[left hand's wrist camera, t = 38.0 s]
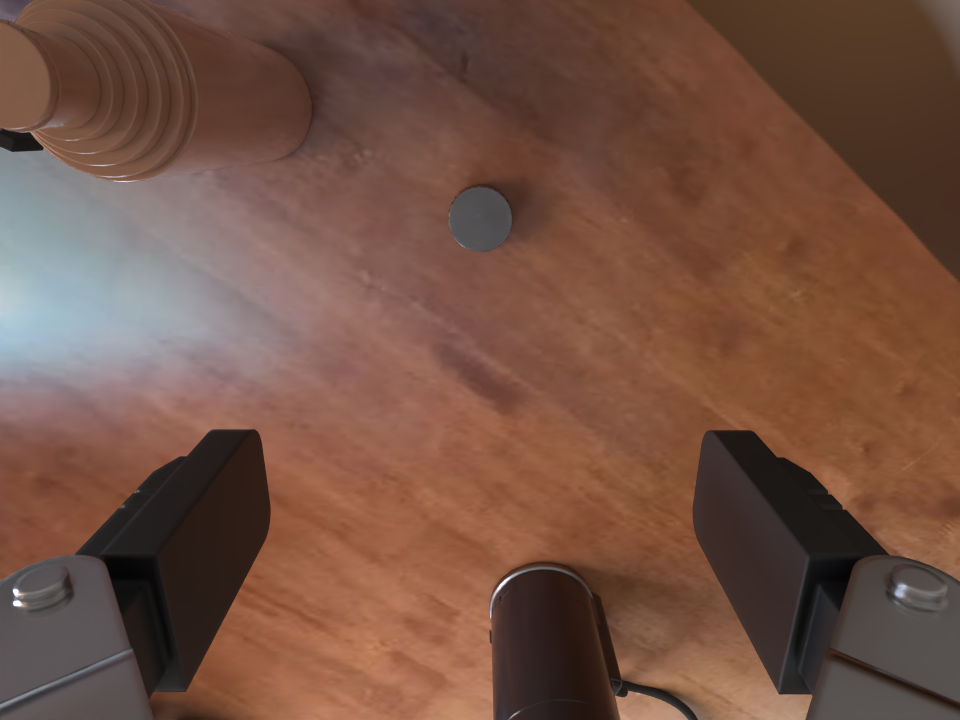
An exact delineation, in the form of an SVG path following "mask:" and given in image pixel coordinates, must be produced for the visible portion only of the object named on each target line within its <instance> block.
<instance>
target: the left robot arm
mask: <svg viewBox="0 0 960 720" xmlns="http://www.w3.org/2000/svg"><path fill="white" fill-rule="evenodd" d="M269 524H270V499H269V492H268V485H267V477H266V470H265V463H264V456H263V448H262V442H261V438H260V435H259V433H258V432H257V431H256V430H254V429H214V430H211V431H210V432H208V433H207V435H206V436H205V437H204V438H203V439H202V440H201V441H200V442H199V444H198V445H197V446H196V447H195V448H194V449H193V450H192V451H191V452H190V454H189V455H188V456H180V457H178V458H176V459H175V460H173V461H171V462H170V463H168V464H166V465H164V466H163V467H161V468H159V469H157V470H156V471H154V472H153V473H152V474H151V475H150V476H149V477H148V478H147V479H146V480H145V481H144V482H143V483H142V484H141V485H140V486H139V488H138V489H137V492H136V493H133V494H132V495H131V496H130V497H129V498H128V499H127V500H126V501H125V502H124V503H123V504H122V509H118V510H117V511H116V512H115V513H114V514H113V515H112V516H111V517H110V518H109V519H108V520H107V521H106V522H105V523H104V524H103V525H102V526H101V527H100V528H99V529H98V531H97V532H96V533H95V534H94V535H93V536H92V537H91V538H90V539H89V540H88V541H87V542H86V543H85V544H84V545H83V546H82V547H81V548H80V549H79V550H78V551H77V553H76V554H75V555H69V556H61V557H56V558H51V559H48V560H44V561H41V562H38V563H35V564H33V565H30V566H28V567H25V568H23V569H21V570H19V571H17V572H15V573H13V574H11V575H10V576H8V577H6V578H5V579H3V580H2V581H0V720H154V717H153V713H152V710H151V707H150V703H149V699H150V697H151V695H152V694H153V692H186V691H187V689H188V687H189V685H190V683H191V681H192V679H193V677H194V675H195V673H196V671H197V670H198V668H199V666H200V664H201V662H202V660H203V658H204V656H205V654H206V652H207V650H208V649H209V647H210V645H211V643H212V641H213V639H214V637H215V635H216V633H217V631H218V629H219V627H220V626H221V624H222V622H223V620H224V618H225V616H226V614H227V612H228V610H229V608H230V606H231V605H232V603H233V601H234V599H235V597H236V595H237V593H238V591H239V589H240V587H241V585H242V584H243V582H244V580H245V578H246V576H247V574H248V572H249V570H250V568H251V566H252V564H253V562H254V561H255V559H256V557H257V555H258V553H259V551H260V549H261V547H262V545H263V543H264V541H265V539H266V537H267V534H268V530H269ZM693 524H694V530H695V534H696V537H697V540H698V542H699V544H700V546H701V548H702V550H703V552H704V553H705V555H706V557H707V559H708V561H709V563H710V565H711V567H712V569H713V570H714V572H715V574H716V576H717V578H718V580H719V582H720V584H721V586H722V587H723V589H724V591H725V593H726V595H727V597H728V599H729V601H730V603H731V604H732V606H733V608H734V610H735V612H736V614H737V616H738V618H739V620H740V621H741V623H742V625H743V627H744V629H745V631H746V633H747V635H748V637H749V638H750V640H751V642H752V644H753V646H754V648H755V650H756V652H757V654H758V655H759V657H760V659H761V661H762V663H763V665H764V667H765V669H766V671H767V672H768V674H769V676H770V678H771V680H772V682H773V684H774V686H775V688H776V689H777V691H778V693H779V694H812V696H813V697H812V700H811V703H810V707H809V710H808V713H807V717H806V720H960V581H958V580H957V579H955V578H954V577H952V576H950V575H949V574H947V573H945V572H943V571H941V570H939V569H937V568H935V567H932V566H930V565H927V564H925V563H922V562H919V561H916V560H912V559H909V558H904V557H899V556H891V555H889V554H888V553H887V552H886V551H885V550H884V549H883V548H882V547H881V546H880V545H879V544H878V543H877V541H876V540H875V539H874V538H873V537H872V536H871V535H870V534H869V533H868V532H867V531H866V530H865V529H864V528H863V527H862V526H861V525H860V524H859V523H858V522H857V521H856V520H855V519H854V518H853V517H852V515H851V514H850V513H849V512H848V511H847V510H843V509H842V505H841V504H840V503H839V502H838V501H837V500H836V499H835V498H834V497H833V496H832V495H828V491H827V490H826V488H825V487H824V486H823V485H822V484H821V483H820V482H819V481H818V480H817V479H816V478H815V477H814V476H813V475H812V474H811V473H810V472H808V471H806V470H805V469H803V468H801V467H799V466H798V465H796V464H794V463H792V462H791V461H789V460H787V459H786V458H777V457H776V456H775V455H774V454H773V452H772V451H771V450H770V449H769V448H768V447H767V446H766V445H765V444H764V442H763V441H762V440H761V439H760V438H759V437H758V436H757V435H756V434H755V433H754V432H753V431H750V430H709V431H707V432H706V433H705V435H704V437H703V440H702V445H701V452H700V459H699V466H698V473H697V480H696V488H695V495H694V502H693ZM490 617H491V626H492V632H491V630H490V643H491V644H492V674H493V717H494V720H620V716H619V711H618V707H617V703H616V699H615V695H616V696H619V697H625V696H627V694H628V691H633V692H637V693H642V694H645V695H649V696H652V697H655V698H658V699H660V700H663V701H665V702H667V703H669V704H671V705H672V706H674V707H676V708H677V709H678V710H680V711H681V712H682V713H683V714H684V715H685V716H686V717H687V719H688V720H698V719H697V717H696V716H695V714H694V713H693V712H692V710H691V709H690V708H689V707H688V706H687V705H686V704H684V703H683V702H682V701H680V700H679V699H677V698H676V697H674V696H672V695H670V694H668V693H665V692H663V691H661V690H658V689H655V688H652V687H646V686H641V685H637V684H633V683H630V682H626V681H622V679H621V675H620V671H619V667H618V664H617V660H616V656H615V652H614V648H613V644H612V640H611V636H610V632H609V629H608V625H607V621H606V617H605V613H604V609H603V605H602V601H601V598H600V597H599V596H597V595H594V594H593V593H591V590H590V588H589V586H588V584H587V583H586V581H585V580H584V579H583V578H582V577H581V576H580V575H579V574H578V573H576V572H575V571H573V570H571V569H569V568H567V567H565V566H562V565H558V564H554V563H533V564H528V565H524V566H521V567H519V568H516V569H514V570H513V571H511V572H509V573H508V574H507V575H505V576H504V577H503V578H502V579H501V580H500V581H499V582H498V584H497V585H496V586H495V588H494V590H493V592H492V595H491V599H490Z"/></svg>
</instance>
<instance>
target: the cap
mask: <svg viewBox="0 0 960 720" xmlns="http://www.w3.org/2000/svg"><path fill="white" fill-rule="evenodd" d="M508 203H509V202H508V200H506V199H505V197H504V194H503V195H502V194H501V193H500V192H499V190H496V189H495V188H493V187H490V186H487V185H486V184H485V185H480V184H478V185H474V186H473V185H472V186H471V187H468V188H465V189H464V190H463V191H462V192H461V191H460V193H459V194H458V195H457V197H455V199H454V201H453V202H452V204H451V209H450V210H449V217H448V220H449V227H450V230H451V233H452V235H453V237H454V238H455V240H456V241H457V242H458V243H459V244H460V245H462V246H463V247H465V248H466V249H469V250H472V251H476V252H484V251H489V250H492V249H494V248H496V247H498V246H499V245H500V244H502V243H503V242H504V240H505V239H506V238H507V237H508V234H509V232H510V231H511V225H512V217H513V216H512V213H511V207H510V206H509V204H508Z"/></svg>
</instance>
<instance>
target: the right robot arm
mask: <svg viewBox="0 0 960 720" xmlns="http://www.w3.org/2000/svg"><path fill="white" fill-rule="evenodd" d="M0 147H2V148H5V149H7V150H9V151H12V152H18V151H39V150H43V146H42V145H41V144H40V143H39V142H38V141H37V140H36V139H35V138H34V136H33V135H32V134H31V133H30V132H22V133H20V132H15V131H9V130H6V129H4V128H2V130H0Z"/></svg>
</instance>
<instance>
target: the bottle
mask: <svg viewBox="0 0 960 720" xmlns="http://www.w3.org/2000/svg"><path fill="white" fill-rule="evenodd" d="M311 117H312V103H311V97H310V93H309V90H308V87H307V84H306V82H305V80H304V78H303V76H302V75H301V73H300V72H299V70H298V69H297V68H296V67H295V65H294V64H293V63H292V62H291V61H290V60H289V59H287V58H286V57H285V56H284V55H282V54H281V53H279V52H277V51H275V50H273V49H271V48H268V47H266V46H263V45H261V44H258V43H256V42H253V41H250V40H248V39H245V38H243V37H240V36H237V35H235V34H232V33H230V32H227V31H225V30H222V29H219V28H217V27H214V26H212V25H209V24H207V23H204V22H201V21H199V20H196V19H194V18H191V17H188V16H186V15H183V14H181V13H178V12H176V11H173V10H170V9H168V8H165V7H163V6H160V5H157V4H155V3H152V2H150V1H147V0H33V1H32V2H31V3H30V4H29V5H27V6H26V7H25V9H24V10H23V11H22V12H21V13H20V14H19V16H18V18H17V19H16V21H15V22H14V23H13V22H11V21H8V20H2V19H0V130H2V128H4V129H6V130H9V131H15V132H20V133H22V132H30V133H31V134H32V135H33V136H34V138H35V139H36V140H37V141H38V142H39V143H40V144H41V145H42V146H43V147H44V148H45V149H46V150H47V151H48V152H50V153H51V154H52V155H53V156H55V157H56V158H57V159H59V160H61V161H62V162H64V163H65V164H67V165H69V166H71V167H73V168H75V169H77V170H79V171H82V172H84V173H86V174H88V175H91V176H94V177H96V178H99V179H103V180H107V181H114V182H137V181H143V180H150V179H156V178H163V177H170V176H176V175H183V174H189V173H196V172H203V171H209V170H216V169H222V168H229V167H236V166H242V165H249V164H255V163H262V162H269V161H275V160H278V159H281V158H284V157H286V156H288V155H289V154H291V153H292V152H293V151H295V150H296V149H297V148H298V147H299V146H300V144H301V143H302V142H303V140H304V139H305V137H306V135H307V133H308V130H309V127H310V123H311Z"/></svg>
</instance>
